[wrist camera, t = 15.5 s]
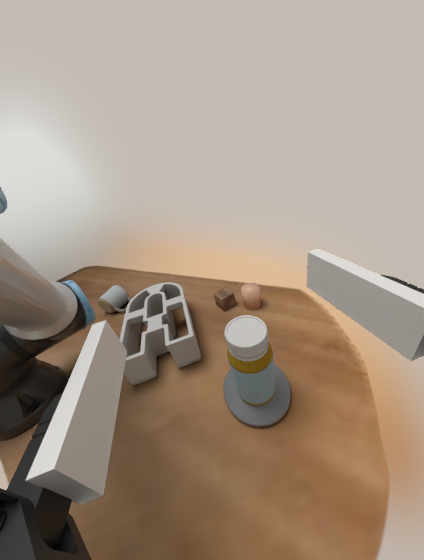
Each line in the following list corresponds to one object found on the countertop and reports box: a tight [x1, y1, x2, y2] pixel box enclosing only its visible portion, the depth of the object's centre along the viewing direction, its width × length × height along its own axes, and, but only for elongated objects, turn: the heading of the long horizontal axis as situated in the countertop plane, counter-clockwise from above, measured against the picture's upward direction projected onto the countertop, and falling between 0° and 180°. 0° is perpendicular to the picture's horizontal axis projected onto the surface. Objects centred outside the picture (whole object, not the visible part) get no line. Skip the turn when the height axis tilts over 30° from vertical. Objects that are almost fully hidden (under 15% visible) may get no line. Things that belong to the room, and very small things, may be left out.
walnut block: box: [214, 287, 236, 311], centre depth 59 cm, size 4×4×4 cm
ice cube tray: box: [120, 283, 201, 385], centre depth 53 cm, size 17×28×9 cm, turn 15°
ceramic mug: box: [98, 285, 131, 313], centre depth 70 cm, size 11×8×8 cm
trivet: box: [224, 364, 291, 428], centre depth 36 cm, size 12×12×1 cm
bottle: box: [225, 315, 275, 406], centre depth 32 cm, size 7×7×15 cm
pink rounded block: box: [241, 283, 261, 310], centre depth 55 cm, size 5×5×6 cm
